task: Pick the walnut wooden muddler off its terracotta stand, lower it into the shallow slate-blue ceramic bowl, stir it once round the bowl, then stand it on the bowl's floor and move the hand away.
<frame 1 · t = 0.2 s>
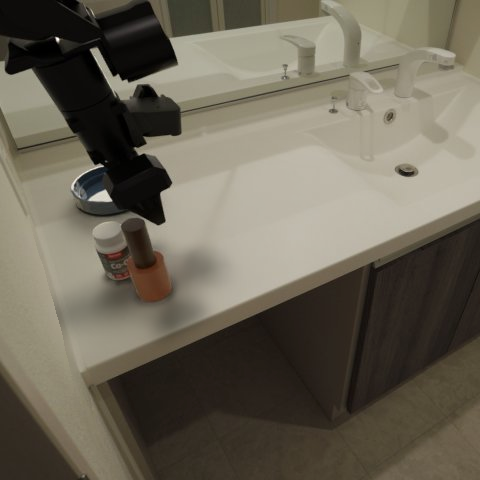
hand: (150, 205, 55), 15 cm above the counter, tool pointing down, fingers open, 9 cm apart
muddler: (139, 243, 57), point 9 cm above the counter, touching stand
bowl: (113, 195, 80), on the counter
pill bottle: (123, 270, 66), on the counter
stand: (154, 289, 64), on the counter
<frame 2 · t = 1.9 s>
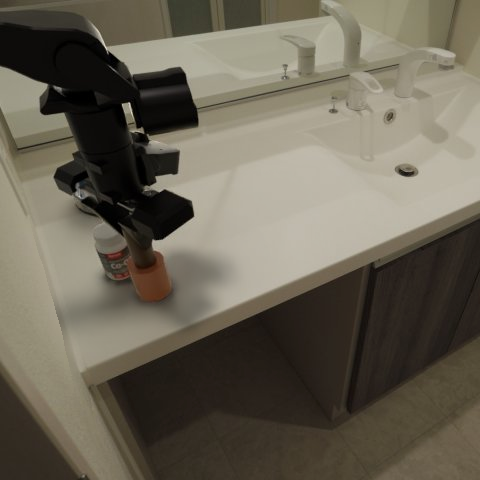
hand: (139, 243, 57), 10 cm above the counter, tool pointing down, fingers closed on muddler, 3 cm apart
muddler: (139, 243, 57), point 10 cm above the counter, touching gripper, stand
everything else where it was.
when the fingers open (4 cm above the counter, at t = 7.9 s): muddler stays where it is, resting on bowl.
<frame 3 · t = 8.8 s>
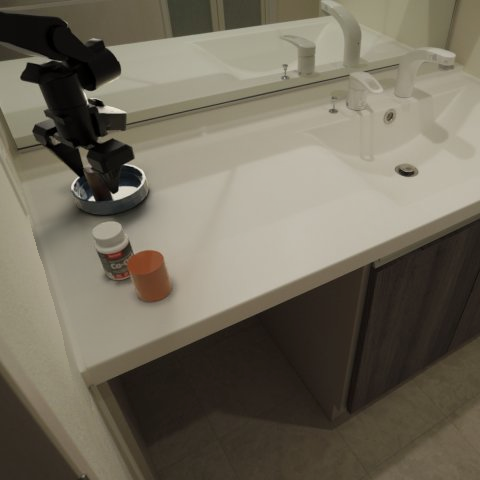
hand: (98, 184, 76), 4 cm above the counter, tool pointing down, fingers open, 9 cm apart
muddler: (98, 184, 76), point 4 cm above the counter, touching bowl
everything else where it was.
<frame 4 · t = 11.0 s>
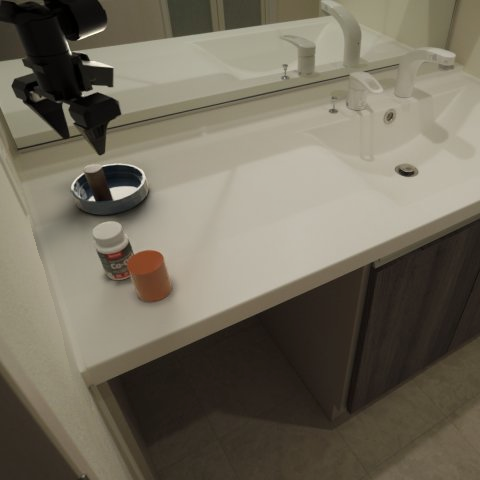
hand: (83, 146, 71), 12 cm above the counter, tool pointing down, fingers open, 9 cm apart
nothing on the counter moved.
at the end: muddler inside the target area on the bowl (2.4 cm from its centre), point 4.1 cm above the bowl's base; muddler tilted 0°; the gripper is holding nothing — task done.
